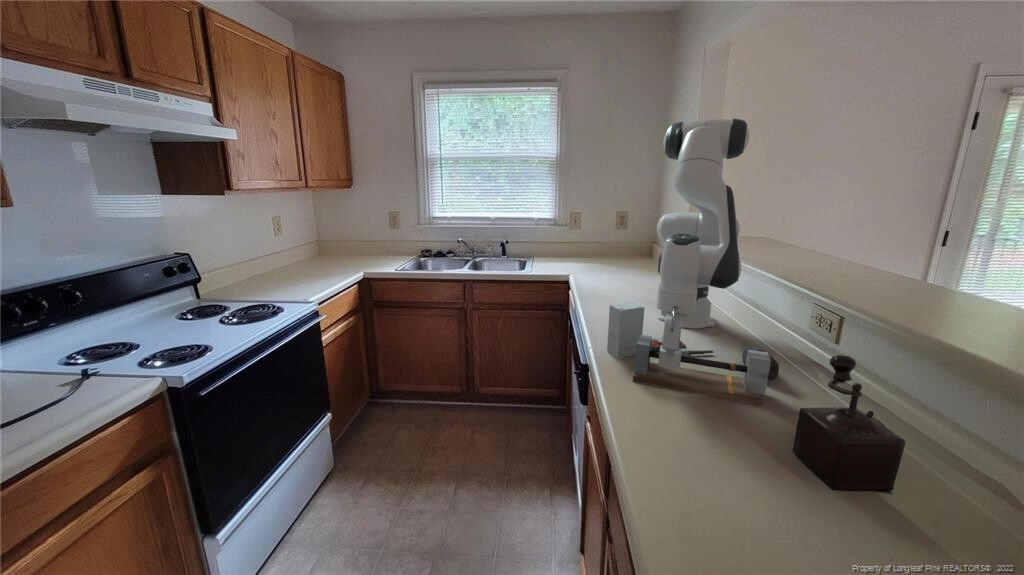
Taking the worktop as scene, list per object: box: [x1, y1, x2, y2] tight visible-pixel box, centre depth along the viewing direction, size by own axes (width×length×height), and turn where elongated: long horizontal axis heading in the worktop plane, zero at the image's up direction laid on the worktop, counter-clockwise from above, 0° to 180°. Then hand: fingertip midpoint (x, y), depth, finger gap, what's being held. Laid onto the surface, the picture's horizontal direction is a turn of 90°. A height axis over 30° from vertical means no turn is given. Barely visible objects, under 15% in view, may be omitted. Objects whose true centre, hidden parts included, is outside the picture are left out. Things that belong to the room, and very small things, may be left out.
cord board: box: [632, 334, 771, 406], centre depth 101 cm, size 10×29×10 cm, turn 66°
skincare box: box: [606, 301, 646, 359], centre depth 119 cm, size 8×6×15 cm
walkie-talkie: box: [651, 336, 714, 357], centre depth 122 cm, size 9×4×20 cm
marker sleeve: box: [657, 345, 682, 369], centre depth 104 cm, size 4×5×4 cm
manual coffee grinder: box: [792, 354, 906, 492], centre depth 72 cm, size 16×11×18 cm
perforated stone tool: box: [741, 344, 780, 382], centre depth 109 cm, size 15×5×7 cm, turn 170°
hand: (670, 355), depth 103 cm, fingers open, 8 cm apart
